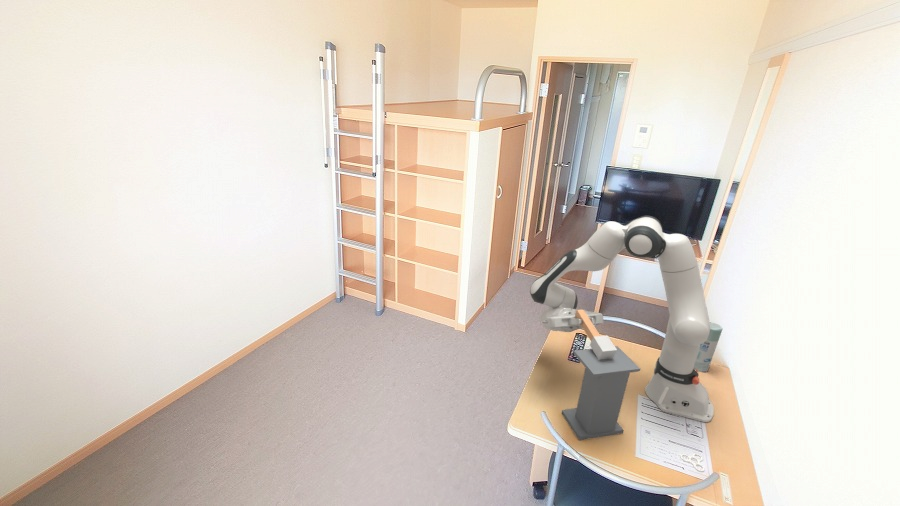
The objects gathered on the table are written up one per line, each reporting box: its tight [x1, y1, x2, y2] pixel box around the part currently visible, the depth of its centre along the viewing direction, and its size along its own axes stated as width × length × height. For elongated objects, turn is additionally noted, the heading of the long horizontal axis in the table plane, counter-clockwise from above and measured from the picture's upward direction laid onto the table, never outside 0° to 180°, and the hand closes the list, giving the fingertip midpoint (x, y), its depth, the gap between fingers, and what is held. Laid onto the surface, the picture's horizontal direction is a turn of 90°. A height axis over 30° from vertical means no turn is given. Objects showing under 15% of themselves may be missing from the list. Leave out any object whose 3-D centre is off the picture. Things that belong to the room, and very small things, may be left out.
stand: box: [561, 345, 641, 441], centre depth 135 cm, size 12×16×26 cm
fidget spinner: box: [679, 452, 705, 473], centre depth 127 cm, size 7×6×1 cm
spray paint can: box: [694, 321, 723, 373], centre depth 168 cm, size 6×6×20 cm
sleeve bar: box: [575, 309, 617, 360], centre depth 136 cm, size 20×5×4 cm, turn 14°
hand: (586, 321), depth 140 cm, fingers closed on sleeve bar, 2 cm apart
